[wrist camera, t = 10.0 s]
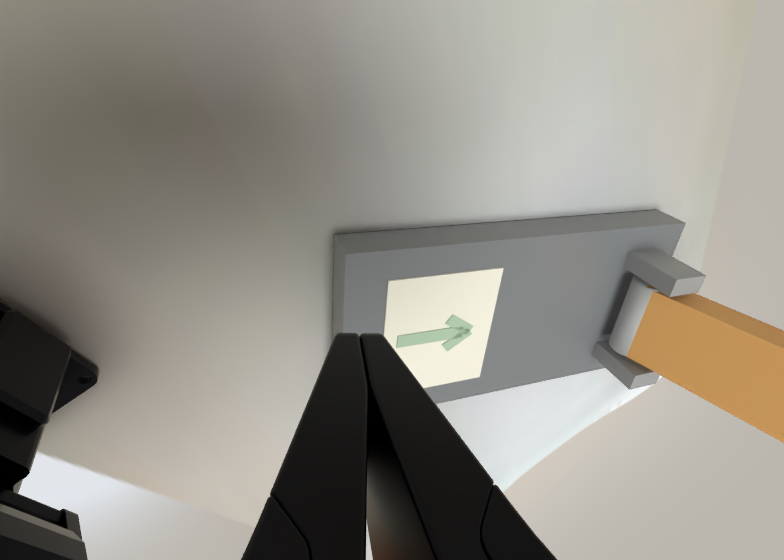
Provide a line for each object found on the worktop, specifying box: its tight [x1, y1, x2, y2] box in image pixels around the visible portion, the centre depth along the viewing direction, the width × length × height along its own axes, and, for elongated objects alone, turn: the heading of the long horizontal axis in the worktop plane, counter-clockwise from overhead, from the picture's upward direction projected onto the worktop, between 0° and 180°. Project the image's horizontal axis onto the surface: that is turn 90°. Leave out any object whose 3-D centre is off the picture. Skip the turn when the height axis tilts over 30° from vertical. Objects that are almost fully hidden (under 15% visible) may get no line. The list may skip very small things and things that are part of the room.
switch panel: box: [332, 210, 706, 404], centre depth 25 cm, size 20×10×5 cm, turn 85°
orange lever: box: [609, 275, 784, 443], centre depth 25 cm, size 2×4×10 cm, turn 175°
